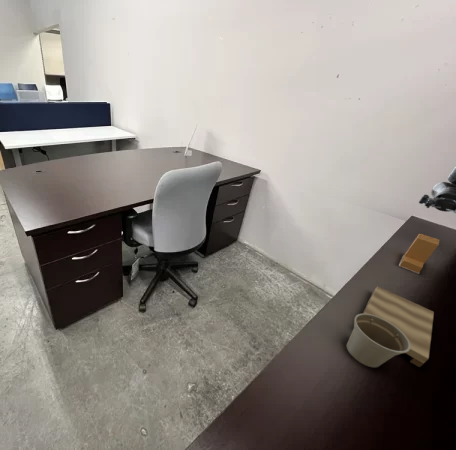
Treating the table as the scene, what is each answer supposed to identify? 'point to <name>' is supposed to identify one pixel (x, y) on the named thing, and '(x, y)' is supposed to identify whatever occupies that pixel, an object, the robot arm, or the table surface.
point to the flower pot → (376, 340)
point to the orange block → (419, 252)
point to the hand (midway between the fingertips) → (445, 209)
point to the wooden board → (404, 321)
